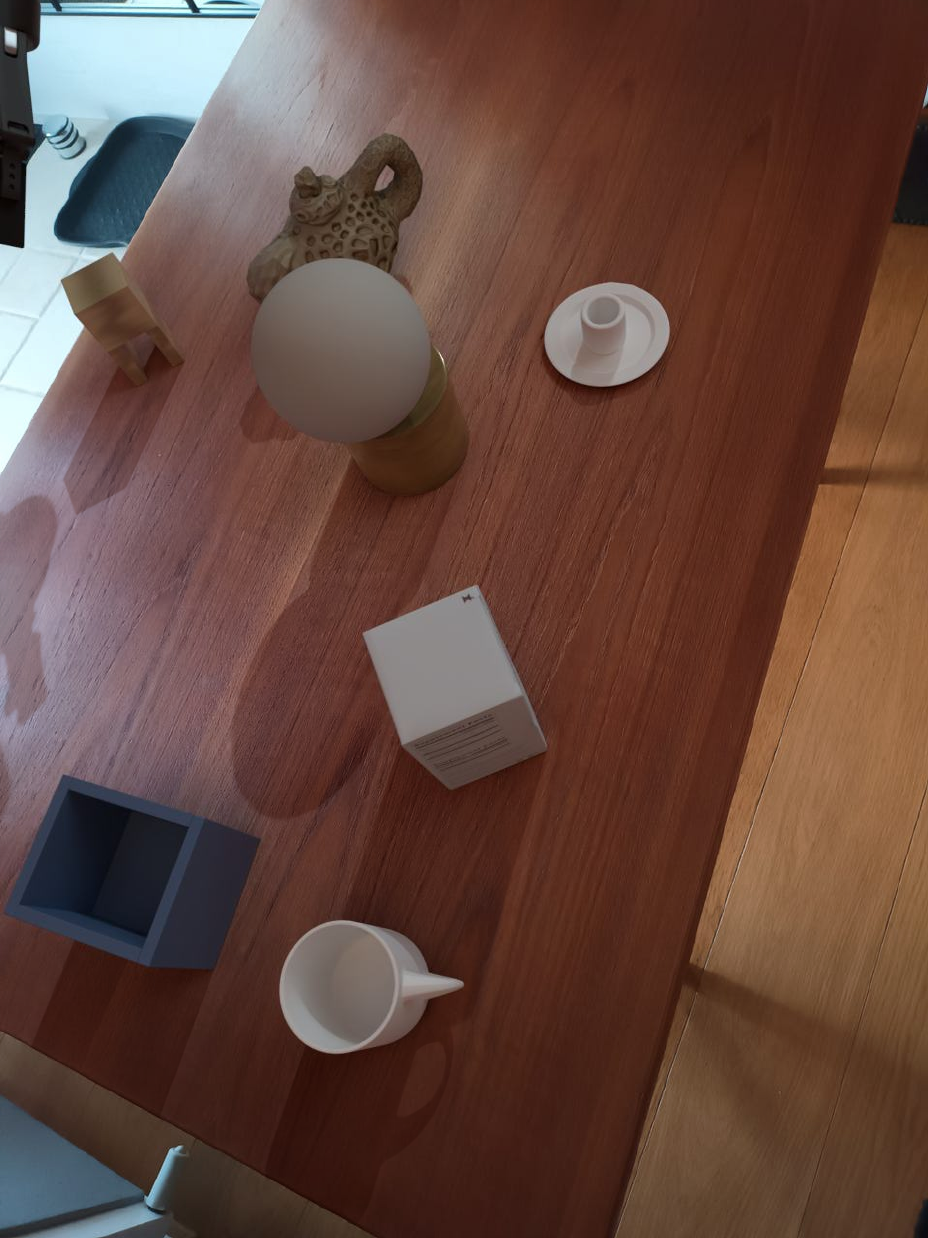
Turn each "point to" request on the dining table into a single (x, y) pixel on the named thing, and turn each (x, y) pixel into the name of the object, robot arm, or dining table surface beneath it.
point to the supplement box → (454, 690)
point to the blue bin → (133, 877)
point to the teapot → (343, 215)
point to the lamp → (360, 373)
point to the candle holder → (607, 334)
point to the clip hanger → (118, 314)
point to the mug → (356, 987)
